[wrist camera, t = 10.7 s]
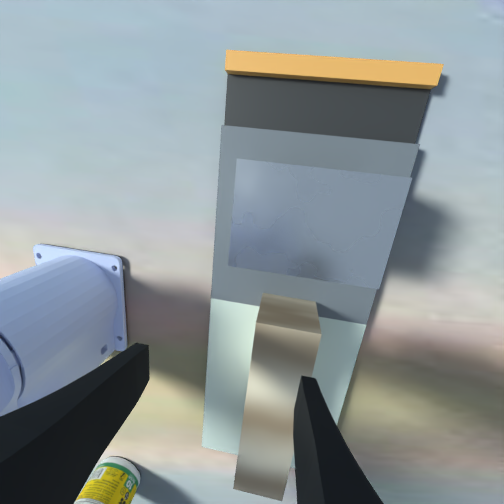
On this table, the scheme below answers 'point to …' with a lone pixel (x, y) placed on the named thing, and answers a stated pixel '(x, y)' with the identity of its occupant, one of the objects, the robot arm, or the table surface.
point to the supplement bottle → (111, 483)
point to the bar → (275, 392)
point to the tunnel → (315, 221)
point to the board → (314, 155)
